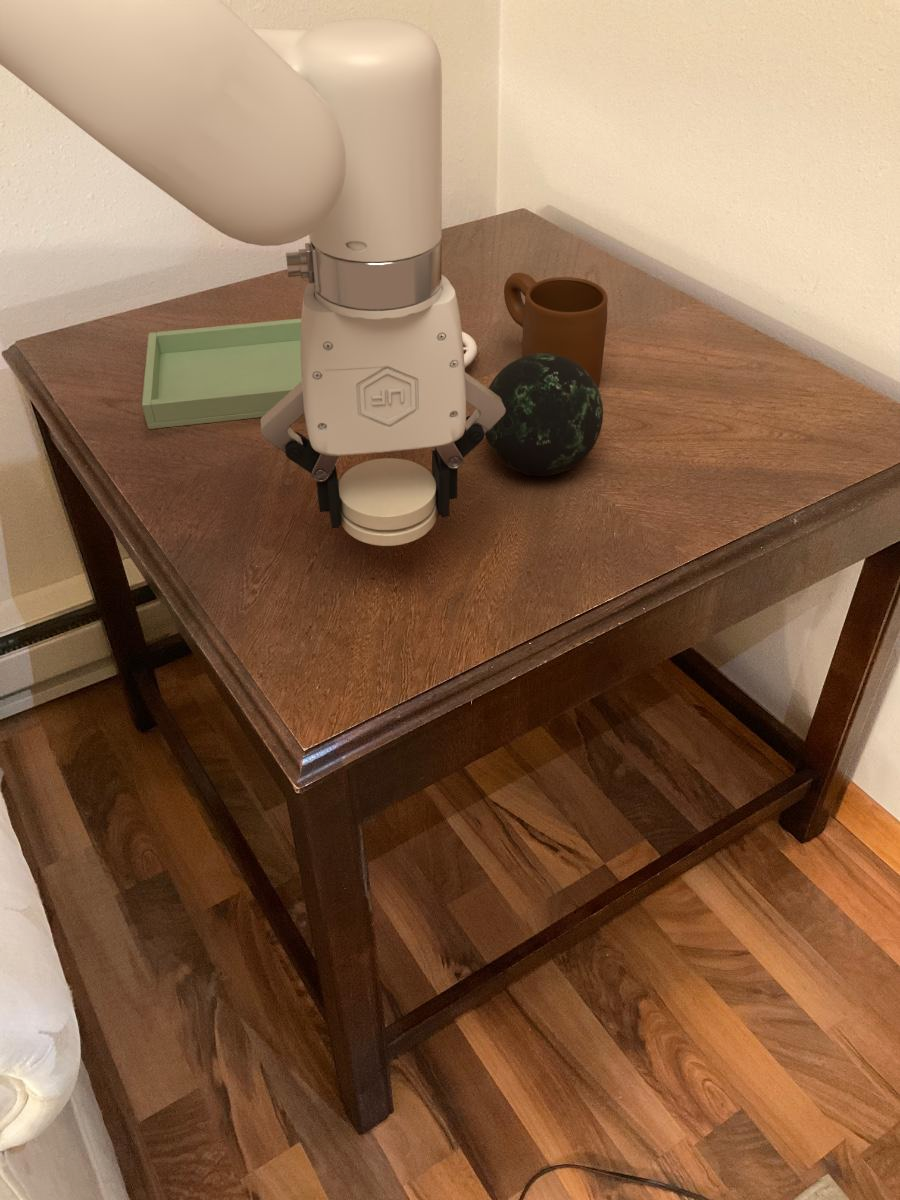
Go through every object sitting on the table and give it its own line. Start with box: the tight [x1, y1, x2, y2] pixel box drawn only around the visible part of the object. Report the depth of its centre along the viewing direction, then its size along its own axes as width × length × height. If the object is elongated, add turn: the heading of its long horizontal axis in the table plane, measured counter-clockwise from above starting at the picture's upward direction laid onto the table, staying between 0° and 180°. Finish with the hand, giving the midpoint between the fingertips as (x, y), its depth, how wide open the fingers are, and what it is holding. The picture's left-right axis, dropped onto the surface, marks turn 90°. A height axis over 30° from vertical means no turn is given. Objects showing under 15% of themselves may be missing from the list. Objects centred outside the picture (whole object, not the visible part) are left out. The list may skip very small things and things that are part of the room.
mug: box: [503, 272, 609, 389], centre depth 93 cm, size 12×8×9 cm, turn 38°
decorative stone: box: [485, 353, 604, 477], centre depth 82 cm, size 10×10×10 cm
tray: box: [141, 317, 302, 430], centre depth 95 cm, size 18×14×3 cm
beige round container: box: [338, 457, 438, 547], centre depth 69 cm, size 7×7×3 cm
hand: (388, 509), depth 69 cm, fingers closed on beige round container, 6 cm apart
